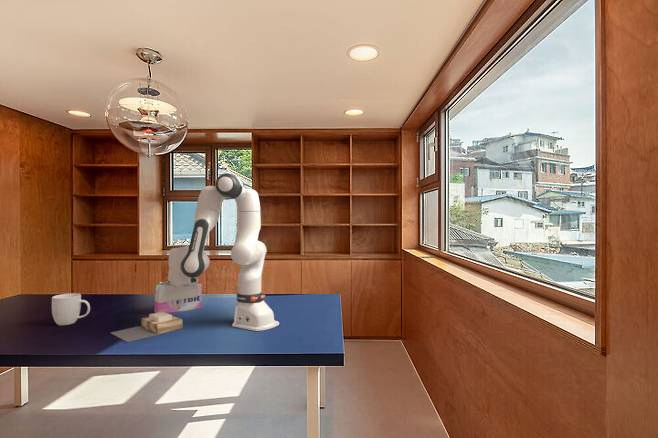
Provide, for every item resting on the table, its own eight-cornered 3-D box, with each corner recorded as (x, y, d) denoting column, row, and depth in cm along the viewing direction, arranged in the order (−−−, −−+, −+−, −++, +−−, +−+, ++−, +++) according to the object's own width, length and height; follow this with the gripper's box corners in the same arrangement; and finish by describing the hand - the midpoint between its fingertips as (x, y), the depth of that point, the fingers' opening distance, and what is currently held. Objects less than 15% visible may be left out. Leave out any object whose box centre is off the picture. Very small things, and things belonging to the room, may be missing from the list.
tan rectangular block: (182, 328, 157) (182, 319, 157) (157, 334, 148) (157, 324, 148) (165, 321, 167) (165, 313, 167) (141, 326, 158) (141, 318, 158)
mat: (158, 335, 147) (158, 334, 147) (127, 342, 138) (127, 341, 138) (139, 326, 158) (139, 326, 158) (110, 333, 149) (110, 332, 149)
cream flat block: (172, 319, 156) (172, 314, 156) (158, 322, 152) (158, 317, 152) (162, 315, 162) (162, 311, 162) (149, 318, 157) (149, 314, 157)
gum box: (200, 305, 199) (200, 281, 199) (204, 308, 192) (204, 283, 192) (153, 311, 185) (154, 286, 185) (156, 315, 178) (156, 288, 178)
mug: (93, 318, 171) (93, 292, 171) (86, 324, 161) (86, 296, 161) (56, 321, 166) (57, 294, 166) (47, 328, 156) (47, 299, 156)
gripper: (159, 283, 154) (158, 314, 154) (201, 278, 169) (200, 306, 169) (152, 281, 157) (151, 312, 157) (194, 276, 173) (193, 304, 173)
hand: (177, 309), depth 164 cm, fingers closed
